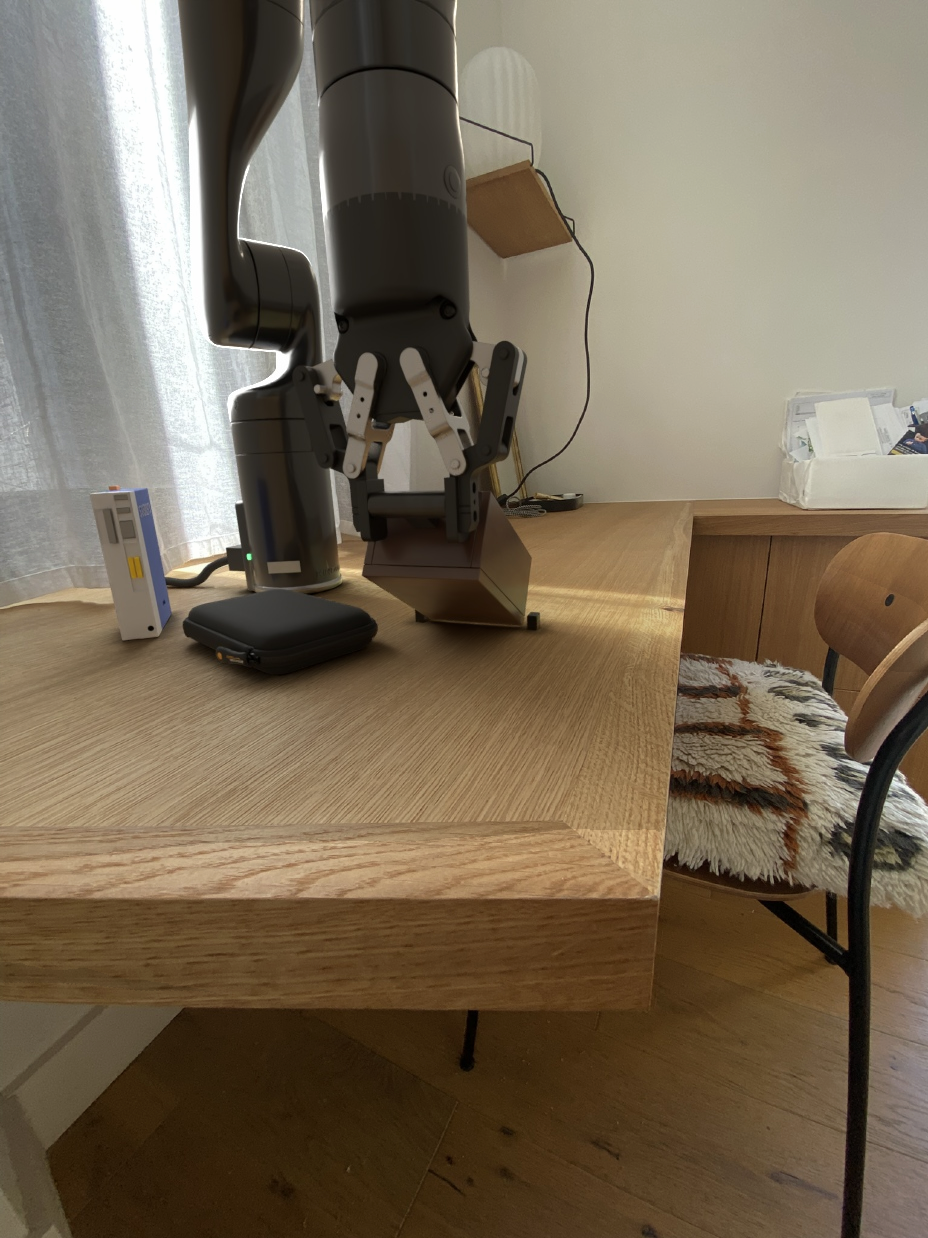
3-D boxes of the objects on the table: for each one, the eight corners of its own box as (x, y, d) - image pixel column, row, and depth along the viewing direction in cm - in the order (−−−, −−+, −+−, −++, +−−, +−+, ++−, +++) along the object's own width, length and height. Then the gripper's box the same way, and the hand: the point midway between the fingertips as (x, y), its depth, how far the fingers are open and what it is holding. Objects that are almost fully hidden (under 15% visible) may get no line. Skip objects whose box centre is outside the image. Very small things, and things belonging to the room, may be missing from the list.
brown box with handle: (460, 562, 30) (475, 464, 31) (334, 558, 33) (352, 469, 34) (523, 626, 44) (532, 557, 45) (431, 620, 47) (441, 555, 48)
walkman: (139, 617, 52) (111, 485, 49) (172, 613, 53) (146, 483, 49) (120, 641, 45) (85, 489, 41) (158, 637, 46) (128, 487, 42)
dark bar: (415, 622, 47) (414, 608, 46) (421, 618, 48) (420, 605, 47) (536, 631, 43) (536, 616, 43) (540, 626, 44) (540, 612, 44)
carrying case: (163, 646, 43) (253, 694, 33) (155, 608, 42) (245, 646, 32) (287, 615, 50) (391, 647, 41) (283, 582, 50) (388, 607, 40)
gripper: (545, 219, 30) (544, 534, 35) (322, 262, 35) (347, 532, 40) (506, 152, 23) (512, 553, 28) (236, 217, 28) (279, 548, 33)
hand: (415, 539), depth 34 cm, fingers closed on brown box with handle, 5 cm apart
